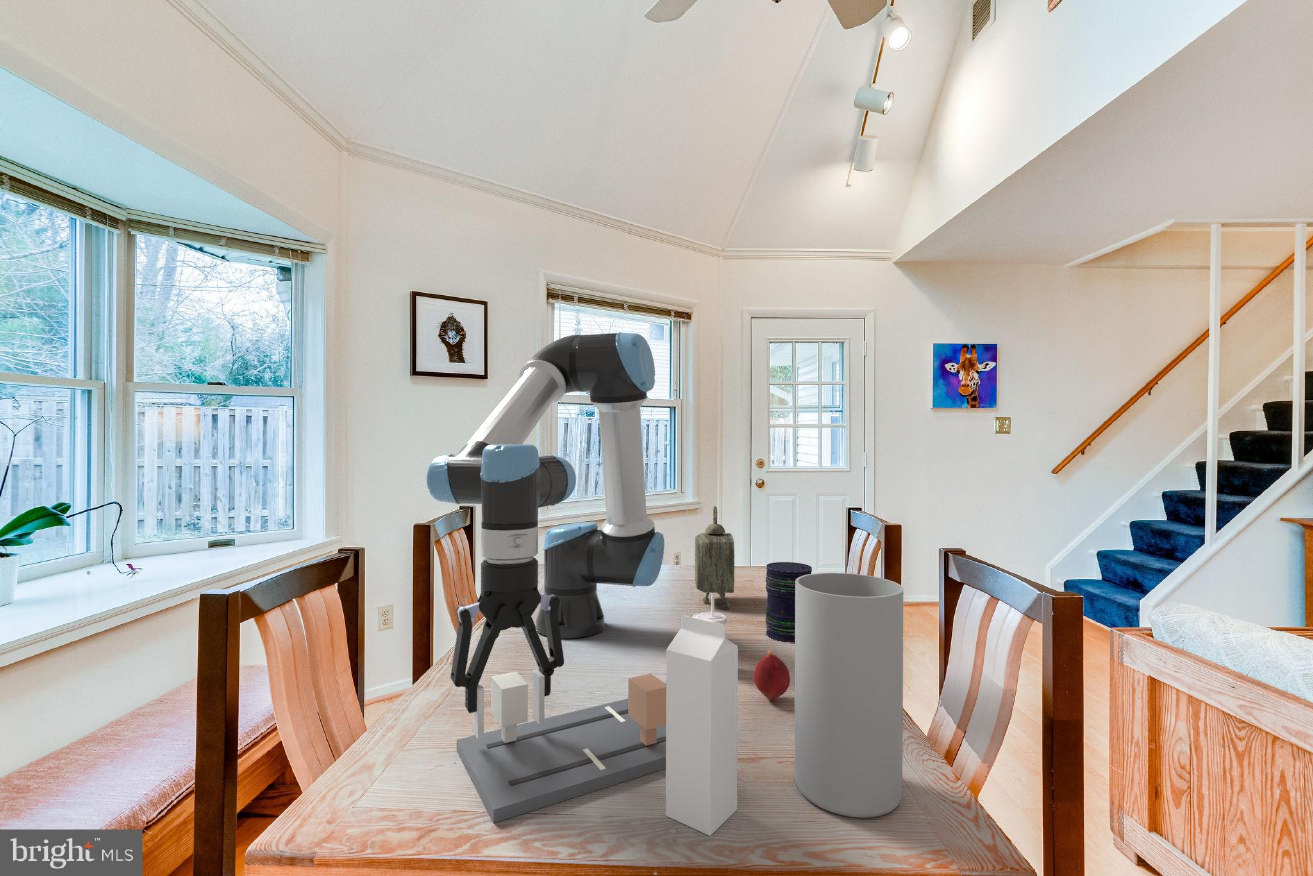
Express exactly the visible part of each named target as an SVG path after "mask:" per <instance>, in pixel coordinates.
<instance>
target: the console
mask: <svg viewBox="0 0 1313 876" xmlns="http://www.w3.org/2000/svg"><path fill="white" fill-rule="evenodd" d="M456 752H457V754H458V756H459V758H460V760H461V762H462V764H463V766H464V768H465V770H466V772H467V774H468V776H469V777H470V780H471V782H472V784H473V786H474V788H475V790H476V792H477V793H478V795H479V797H480V800H481V802H482V804H483V806H484V808H485V810H486V811H487V814H488V815H489V817H490V819H491V821H492V823H493V824H496V823H498V822H501V821H504V820H508V819H511V818H514V817H518V816H521V815H524V814H526V813H530V812H533V811H536V810H539V809H541V808H545V807H548V806H552V805H555V804H558V803H561V802H564V801H568V800H571V799H574V798H577V797H580V796H583V795H587V794H590V793H593V792H596V791H598V790H603V789H605V788H609V787H612V786H615V785H618V784H621V783H624V782H627V781H630V780H634V779H636V778H640V777H643V776H646V775H650V774H652V773H656V772H658V771H663V770H666V725H664V726H660V727H657V743H654V744H651V745H647V746H646V745H645V744H644V743H642V742H641V741H640V725H639V724H638V723H637V722H636V721H635V720H634V719H632V718H631V717H630V716H629V715H628V698H624V699H621V700H616V701H612V702H608V703H607V702H606V703H604V704H599V705H595V706H591V707H587V708H582V709H579V710H575V711H570V712H566V713H562V714H558V715H554V716H550V717H544V724H540V725H539V724H538V723H537V722H536V720H533V721H528V722H523V723H519V724H517V740H516V741H512V742H508V743H504V741H503V740H502V738H501V728H500V729H499V728H498V729H495V730H492V731H488V732H484V738H482V739H477V737H476V736H475V734H474V735H472V736H471V735H470V736H466V737H463V738H459V739H456Z"/></svg>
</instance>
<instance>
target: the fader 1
mask: <svg viewBox="0 0 1313 876" xmlns="http://www.w3.org/2000/svg"><path fill="white" fill-rule="evenodd" d="M490 679H491V680H490V714H491V715H492V716H493V717H494V719H495V721H496V722H497V724H498V725H499V726H500V727H501V728H500V729H501V738H502V740H503V741H504V743H508V742H512V741H516V740H517V725H520V724H524V723H528V722H529V721H528V711H529V710H528V709H529V708H528V707H529V705H528V703H529V702H528V700H529V696H528V695H529V694H528V693H529V689H528V688H529V684H528V683H527V681H526V680H525V679H524V678H523V677H522V676H521V675H520V674H519V673H518V672H517V671H512V672H506V673H503V674H497V675H492V676H491V677H490Z"/></svg>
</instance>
